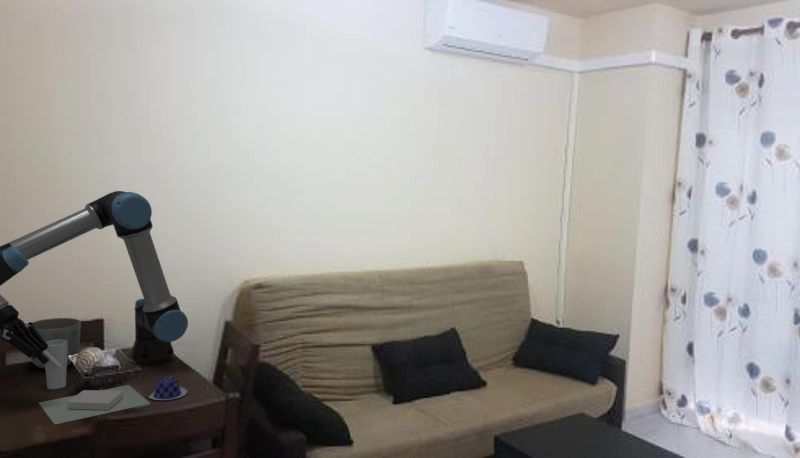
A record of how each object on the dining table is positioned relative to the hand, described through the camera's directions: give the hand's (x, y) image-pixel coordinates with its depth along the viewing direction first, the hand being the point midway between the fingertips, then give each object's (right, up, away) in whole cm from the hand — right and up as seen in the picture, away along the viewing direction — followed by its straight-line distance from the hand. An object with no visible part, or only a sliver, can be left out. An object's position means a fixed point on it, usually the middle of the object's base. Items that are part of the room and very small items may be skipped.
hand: (57, 369), depth 187 cm
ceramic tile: (+5, -9, +1) cm, 11 cm away
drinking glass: (-8, -10, +15) cm, 19 cm away
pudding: (+28, -11, +12) cm, 33 cm away
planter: (-21, -7, +37) cm, 43 cm away
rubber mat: (+10, -11, +2) cm, 15 cm away
